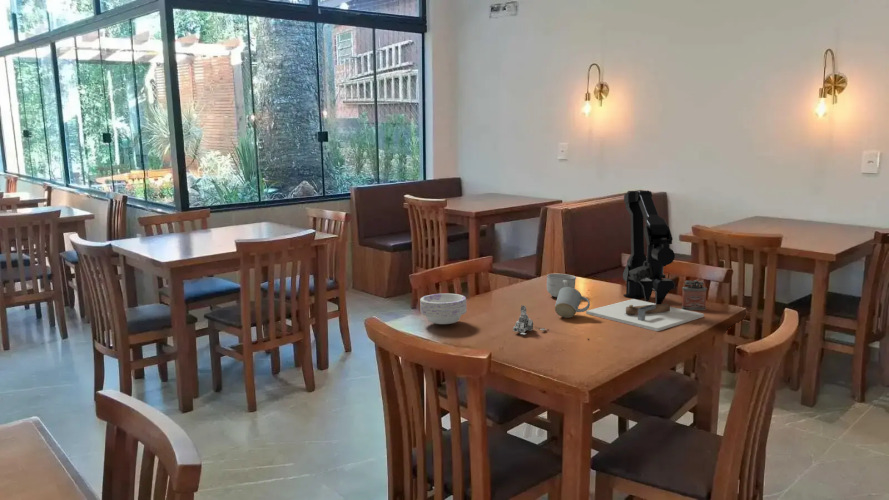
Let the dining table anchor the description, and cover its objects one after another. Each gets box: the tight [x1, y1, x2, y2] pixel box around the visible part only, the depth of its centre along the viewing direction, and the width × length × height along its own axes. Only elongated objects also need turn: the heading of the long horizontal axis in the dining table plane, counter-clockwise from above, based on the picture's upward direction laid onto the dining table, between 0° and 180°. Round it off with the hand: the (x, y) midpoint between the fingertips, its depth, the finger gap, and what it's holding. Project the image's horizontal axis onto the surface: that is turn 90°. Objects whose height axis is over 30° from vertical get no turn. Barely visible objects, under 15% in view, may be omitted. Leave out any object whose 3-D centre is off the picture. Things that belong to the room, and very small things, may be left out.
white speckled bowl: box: [419, 293, 467, 325], centre depth 221 cm, size 15×15×8 cm
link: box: [626, 303, 671, 315], centre depth 224 cm, size 16×3×3 cm, turn 106°
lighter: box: [681, 279, 708, 311], centre depth 232 cm, size 8×3×10 cm, turn 84°
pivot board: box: [585, 298, 705, 332], centre depth 225 cm, size 28×26×1 cm
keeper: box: [638, 305, 656, 321], centre depth 218 cm, size 2×7×4 cm, turn 128°
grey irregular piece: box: [512, 304, 546, 335], centre depth 210 cm, size 9×9×8 cm
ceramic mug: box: [554, 287, 591, 319], centre depth 223 cm, size 11×8×8 cm
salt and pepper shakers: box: [522, 415, 545, 439], centre depth 305 cm, size 12×4×11 cm, turn 114°
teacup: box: [546, 273, 577, 298], centre depth 252 cm, size 14×11×8 cm
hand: (652, 303), depth 231 cm, fingers open, 8 cm apart
